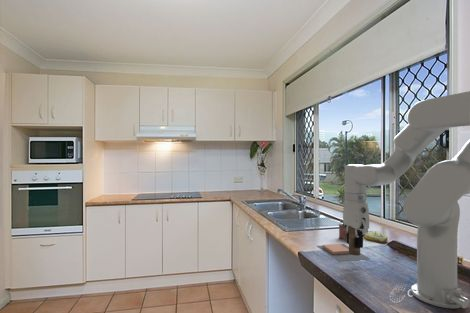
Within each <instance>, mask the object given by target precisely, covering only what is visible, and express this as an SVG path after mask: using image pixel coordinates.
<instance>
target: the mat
mask: <svg viewBox="0 0 470 313" xmlns="http://www.w3.org/2000/svg"><path fill="white" fill-rule="evenodd" d="M339 244H340V245H342V246H344V247H346V248H347V249H349V245H347V244H344V243H339ZM323 245H324V244H322V245H316V248H319V250H321V251H322V252H324V253H326V254H327V255H328V256H330V257H331V258H332V259H334V260H336V261H337V262H338V263H341V262H351V261H352V262H357V261H366V260H367V261H369V260H371V258H370V257H368V256H366V255H364V254H363V253H361V252H360V255H358V256H356V255H351V254H336V255H333V254H332V253H330V252H329V251H327V250H326V249H324V248H323Z"/></svg>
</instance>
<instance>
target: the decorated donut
mask: <svg viewBox="0 0 470 313" xmlns="http://www.w3.org/2000/svg"><path fill="white" fill-rule="evenodd" d="M388 237H389V236H388V235H387V234H386V233H384V232H379V231H374V230H368V233H366V234H365V235H364V237H363V239H364V240H367V241H370V242H375V243H379V244H380V243H381V244H384V243H386V242H388V241H389V240H388Z"/></svg>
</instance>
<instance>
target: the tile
mask: <svg viewBox="0 0 470 313" xmlns="http://www.w3.org/2000/svg"><path fill="white" fill-rule="evenodd" d="M340 244H341V243H331V244H322V245H323V248H324V249H326V250H327V251H329V252H330V253H332V254H333V255H336V254H349V249H347V248H346V247H344V246H342V245H340Z"/></svg>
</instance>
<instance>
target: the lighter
mask: <svg viewBox="0 0 470 313" xmlns="http://www.w3.org/2000/svg"><path fill="white" fill-rule="evenodd" d="M339 221H340V222H339V224H338V229H339V230H338V239H340V240H345V241H347V233H346V228H345V225H344V223H343V219H340V220H339Z"/></svg>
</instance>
